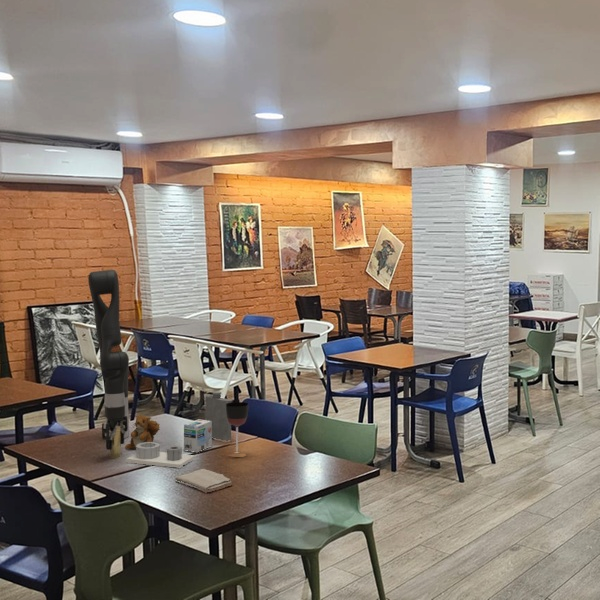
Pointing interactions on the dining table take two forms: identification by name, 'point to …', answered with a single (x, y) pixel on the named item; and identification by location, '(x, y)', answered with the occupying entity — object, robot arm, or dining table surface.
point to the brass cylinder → (116, 444)
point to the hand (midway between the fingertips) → (115, 446)
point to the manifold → (159, 455)
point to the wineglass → (237, 415)
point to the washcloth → (204, 479)
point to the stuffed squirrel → (143, 431)
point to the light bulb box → (197, 435)
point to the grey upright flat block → (218, 416)
